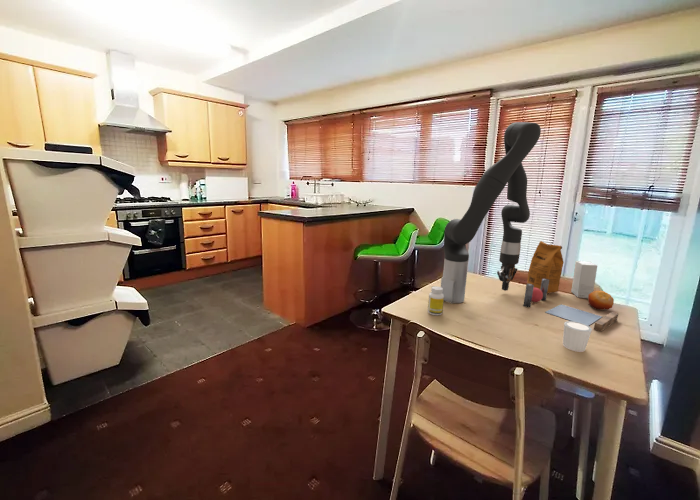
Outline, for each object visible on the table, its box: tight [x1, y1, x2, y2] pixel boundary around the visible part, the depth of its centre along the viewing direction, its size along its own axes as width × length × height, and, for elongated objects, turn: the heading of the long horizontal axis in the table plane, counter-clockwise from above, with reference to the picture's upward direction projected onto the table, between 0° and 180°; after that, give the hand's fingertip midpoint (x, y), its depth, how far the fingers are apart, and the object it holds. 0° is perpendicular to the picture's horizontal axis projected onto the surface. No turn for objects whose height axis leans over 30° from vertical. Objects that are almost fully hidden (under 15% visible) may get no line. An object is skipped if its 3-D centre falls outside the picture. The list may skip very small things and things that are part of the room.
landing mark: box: [544, 303, 603, 327], centre depth 121 cm, size 14×14×1 cm
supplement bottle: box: [427, 286, 445, 316], centre depth 119 cm, size 5×5×10 cm
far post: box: [540, 278, 549, 302], centre depth 135 cm, size 3×3×9 cm
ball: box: [531, 287, 543, 303], centre depth 132 cm, size 6×6×6 cm
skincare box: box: [570, 260, 598, 299], centre depth 140 cm, size 8×6×15 cm
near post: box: [522, 283, 534, 308], centre depth 127 cm, size 3×3×9 cm
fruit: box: [587, 290, 615, 311], centre depth 127 cm, size 8×8×8 cm
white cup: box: [562, 320, 593, 353], centre depth 97 cm, size 7×7×7 cm
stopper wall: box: [593, 311, 619, 332], centre depth 113 cm, size 16×2×2 cm, turn 126°
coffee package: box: [526, 240, 564, 295], centre depth 145 cm, size 10×12×22 cm
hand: (504, 289), depth 142 cm, fingers closed
